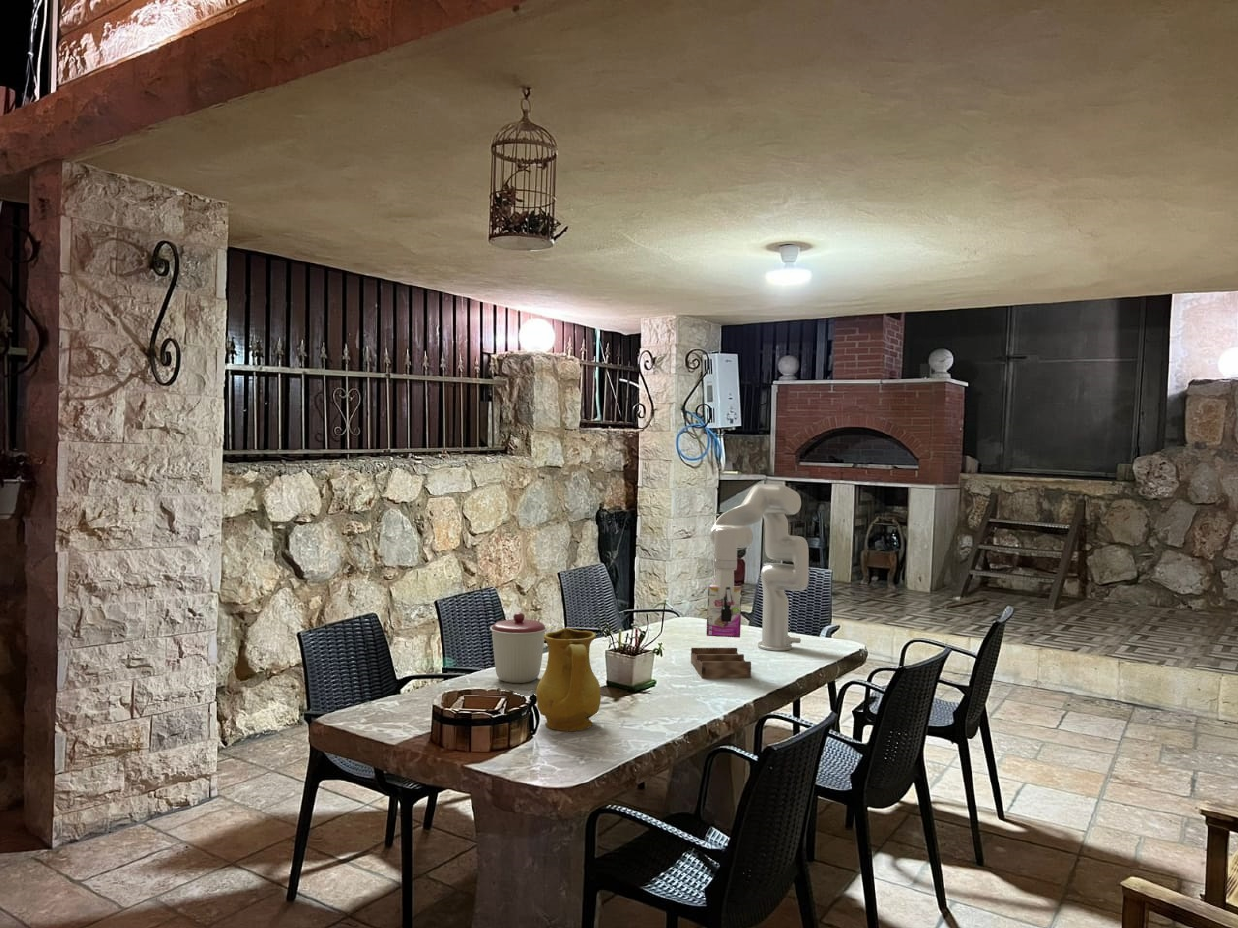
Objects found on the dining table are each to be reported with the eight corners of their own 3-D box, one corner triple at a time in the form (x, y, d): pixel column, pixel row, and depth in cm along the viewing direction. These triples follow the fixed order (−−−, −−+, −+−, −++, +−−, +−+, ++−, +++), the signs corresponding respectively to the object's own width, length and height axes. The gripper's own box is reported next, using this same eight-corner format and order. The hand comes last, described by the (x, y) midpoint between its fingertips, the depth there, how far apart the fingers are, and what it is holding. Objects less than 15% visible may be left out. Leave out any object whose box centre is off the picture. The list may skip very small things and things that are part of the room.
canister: (512, 669, 292) (513, 605, 291) (557, 677, 283) (558, 611, 282) (477, 681, 276) (478, 613, 276) (524, 690, 267) (525, 620, 267)
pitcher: (608, 715, 242) (606, 625, 240) (591, 740, 223) (588, 643, 222) (548, 712, 245) (546, 623, 244) (526, 736, 227) (523, 640, 226)
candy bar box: (706, 636, 289) (707, 586, 289) (706, 633, 294) (707, 584, 294) (740, 638, 288) (742, 587, 288) (740, 635, 293) (741, 585, 293)
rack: (736, 662, 307) (736, 647, 307) (750, 678, 287) (751, 662, 286) (690, 662, 306) (691, 647, 306) (702, 678, 285) (702, 662, 285)
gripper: (709, 561, 299) (707, 614, 299) (719, 568, 282) (718, 624, 282) (730, 561, 300) (729, 614, 300) (742, 568, 283) (741, 624, 283)
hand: (724, 619), depth 291 cm, fingers closed on candy bar box, 5 cm apart
